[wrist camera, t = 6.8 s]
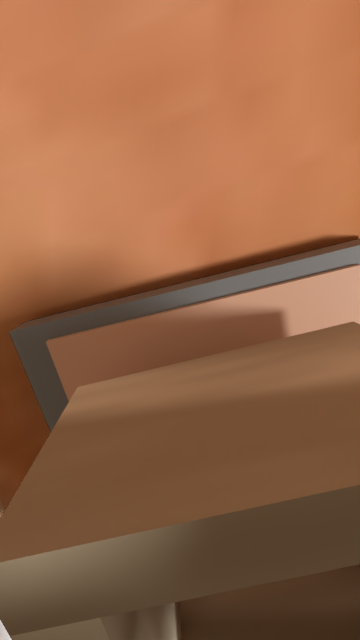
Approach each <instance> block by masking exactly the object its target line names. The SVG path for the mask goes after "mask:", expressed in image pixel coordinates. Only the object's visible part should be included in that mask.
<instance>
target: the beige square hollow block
mask: <svg viewBox="0 0 360 640" xmlns="http://www.w3.org/2000/svg"><path fill="white" fill-rule="evenodd" d="M0 620H1V622H2V623H3V625H4V627H5V628H6V630H7V632H8V634H9V635H10V637H11V639H12V640H360V324H358V323H356V322H354V321H353V322H349V323H345V324H340V325H336V326H332V327H328V328H324V329H319V330H315V331H311V332H307V333H303V334H298V335H294V336H290V337H286V338H282V339H277V340H273V341H269V342H265V343H261V344H256V345H252V346H248V347H244V348H239V349H235V350H231V351H227V352H223V353H218V354H214V355H210V356H206V357H202V358H197V359H193V360H189V361H185V362H181V363H176V364H172V365H168V366H164V367H160V368H155V369H151V370H147V371H143V372H139V373H134V374H130V375H126V376H122V377H118V378H113V379H109V380H105V381H101V382H97V383H92V384H88V385H84V386H80V387H77V389H76V391H75V392H74V394H73V396H72V397H71V399H70V401H69V403H68V404H67V406H66V408H65V409H64V411H63V413H62V414H61V416H60V418H59V420H58V421H57V423H56V425H55V426H54V428H53V430H52V431H51V433H50V435H49V437H48V438H47V440H46V442H45V443H44V445H43V447H42V449H41V450H40V452H39V454H38V455H37V457H36V459H35V460H34V462H33V464H32V466H31V467H30V469H29V471H28V472H27V474H26V476H25V477H24V479H23V481H22V483H21V484H20V486H19V488H18V489H17V491H16V493H15V494H14V496H13V498H12V500H11V501H10V503H9V505H8V506H7V508H6V510H5V512H4V513H3V515H2V517H1V518H0Z"/></svg>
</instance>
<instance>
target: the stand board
mask: <svg viewBox="0 0 360 640" xmlns="http://www.w3.org/2000/svg"><path fill="white" fill-rule="evenodd" d="M353 321H354V322H356V323H358V324H360V239H356V240H352V241H348V242H344V243H340V244H336V245H332V246H328V247H324V248H320V249H316V250H312V251H308V252H304V253H300V254H296V255H292V256H288V257H284V258H280V259H276V260H272V261H268V262H264V263H260V264H256V265H252V266H248V267H244V268H240V269H236V270H232V271H228V272H224V273H220V274H216V275H212V276H208V277H203V278H199V279H195V280H191V281H187V282H183V283H179V284H175V285H171V286H167V287H163V288H159V289H155V290H151V291H147V292H143V293H139V294H135V295H131V296H127V297H123V298H119V299H115V300H111V301H107V302H103V303H99V304H95V305H91V306H87V307H83V308H79V309H75V310H71V311H67V312H63V313H59V314H55V315H51V316H47V317H43V318H39V319H35V320H30V321H26V322H24V323H22V324H20V325H19V326H17V327H16V328H14V329H13V330H11V331H10V332H9V333H10V336H11V338H12V341H13V343H14V345H15V348H16V350H17V353H18V355H19V357H20V360H21V362H22V365H23V367H24V369H25V372H26V374H27V377H28V379H29V381H30V384H31V386H32V388H33V391H34V393H35V396H36V398H37V400H38V403H39V405H40V408H41V410H42V412H43V415H44V417H45V420H46V422H47V424H48V427H49V429H50V432H51V431H52V430H53V428H54V426H55V425H56V423H57V421H58V420H59V418H60V416H61V414H62V413H63V411H64V409H65V408H66V406H67V404H68V403H69V401H70V399H71V397H72V396H73V394H74V392H75V391H76V389H77V387H80V386H84V385H88V384H92V383H97V382H101V381H105V380H109V379H113V378H118V377H122V376H126V375H130V374H134V373H139V372H143V371H147V370H151V369H155V368H160V367H164V366H168V365H172V364H176V363H181V362H185V361H189V360H193V359H197V358H202V357H206V356H210V355H214V354H218V353H223V352H227V351H231V350H235V349H239V348H244V347H248V346H252V345H256V344H261V343H265V342H269V341H273V340H277V339H282V338H286V337H290V336H294V335H298V334H303V333H307V332H311V331H315V330H319V329H324V328H328V327H332V326H336V325H340V324H345V323H349V322H353Z"/></svg>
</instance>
